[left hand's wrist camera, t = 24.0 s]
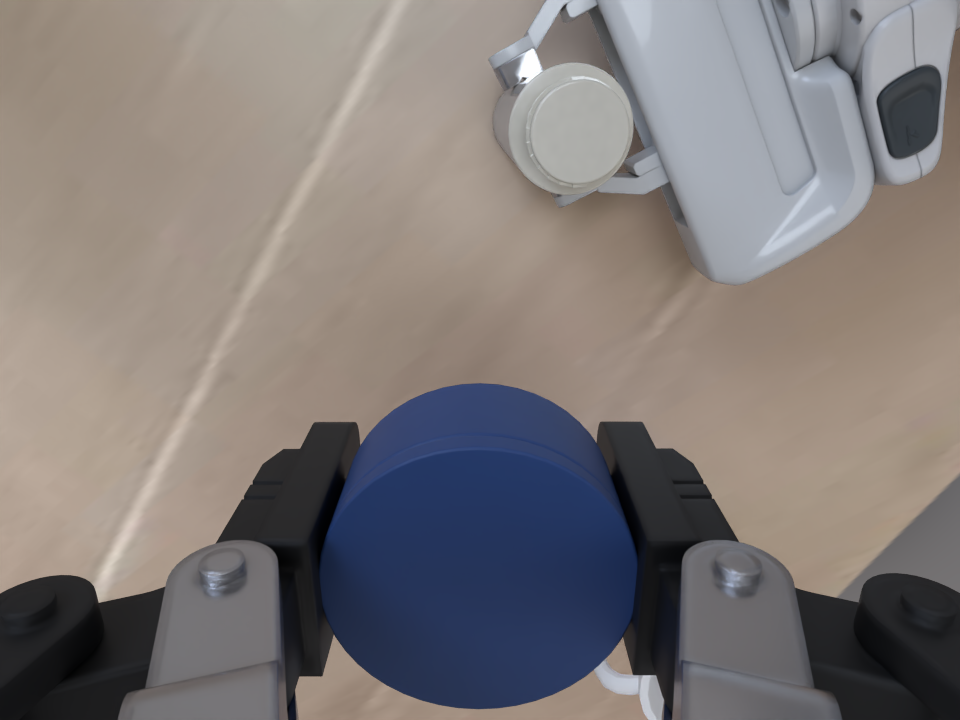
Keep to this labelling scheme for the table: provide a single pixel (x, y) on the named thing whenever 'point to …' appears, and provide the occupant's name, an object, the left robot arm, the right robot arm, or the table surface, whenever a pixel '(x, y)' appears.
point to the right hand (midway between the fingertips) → (524, 136)
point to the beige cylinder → (565, 127)
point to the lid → (478, 550)
